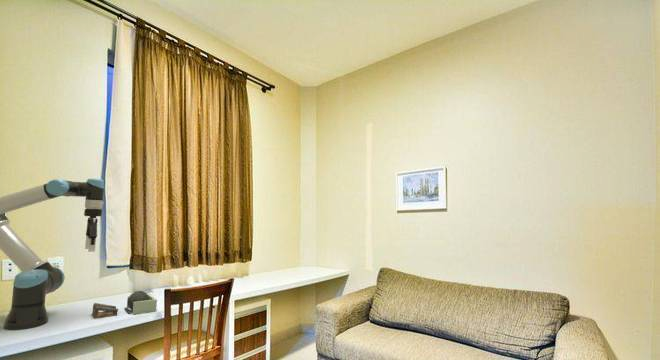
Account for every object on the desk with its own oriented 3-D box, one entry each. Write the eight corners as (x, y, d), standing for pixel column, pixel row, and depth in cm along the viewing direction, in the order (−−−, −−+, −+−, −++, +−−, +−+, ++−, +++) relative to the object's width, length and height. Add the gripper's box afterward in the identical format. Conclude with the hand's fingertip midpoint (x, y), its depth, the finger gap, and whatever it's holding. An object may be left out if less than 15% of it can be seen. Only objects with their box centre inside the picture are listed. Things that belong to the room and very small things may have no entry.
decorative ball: (148, 288, 193) (147, 306, 192) (127, 290, 187) (126, 309, 187) (150, 292, 184) (149, 311, 183) (128, 293, 179) (127, 314, 178)
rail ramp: (94, 318, 169) (95, 306, 170) (91, 314, 176) (92, 302, 177) (118, 315, 176) (119, 303, 176) (115, 311, 183) (116, 299, 183)
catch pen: (133, 314, 177) (134, 302, 178) (126, 307, 189) (127, 296, 189) (156, 311, 184) (156, 299, 185) (148, 304, 196) (149, 293, 196)
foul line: (128, 314, 178) (128, 312, 178) (124, 309, 186) (124, 307, 186) (131, 313, 179) (131, 312, 179) (126, 308, 187) (126, 307, 187)
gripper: (105, 209, 174) (102, 252, 172) (98, 208, 193) (95, 247, 191) (87, 208, 169) (83, 253, 167) (82, 208, 188) (78, 248, 186)
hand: (89, 250), depth 179 cm, fingers open, 13 cm apart
